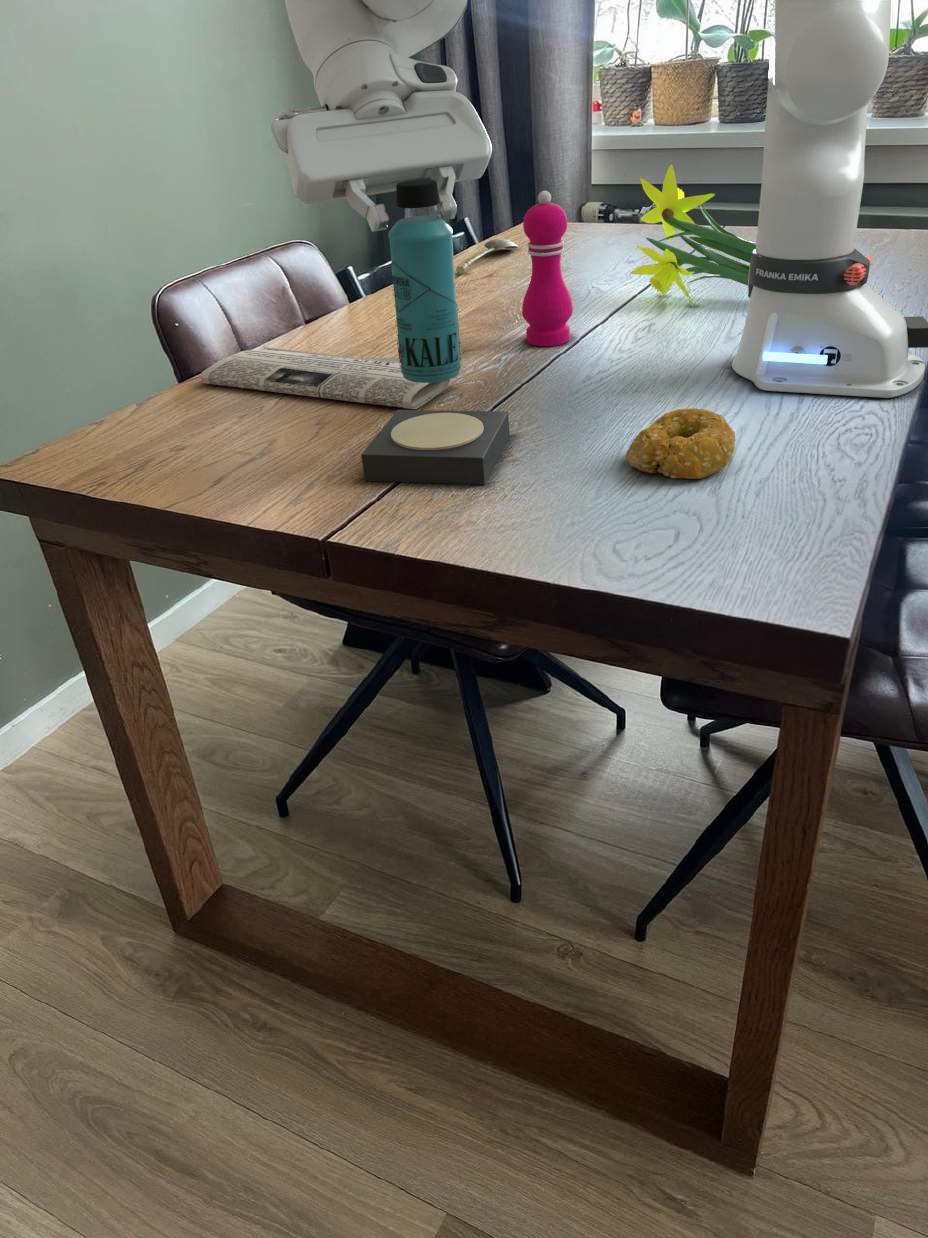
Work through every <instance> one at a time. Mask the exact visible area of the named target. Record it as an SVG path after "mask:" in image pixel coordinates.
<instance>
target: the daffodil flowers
mask: <svg viewBox="0 0 928 1238" xmlns="http://www.w3.org/2000/svg"><path fill="white" fill-rule="evenodd" d="M676 177H677V176H676V174H675V169H674V165H673V164H671V163H670V165H669V166H668V168H667V171H666V173H665V176H664V180H663V182H662V191H661V190H659V189H658V188H657V187H655V186H654V185H653V184H652V183H650V182H649V181H647V180H646V179H645V178H642V177H639V180H640V183H641V187H642V190H643V191H644V193H645V194H646V196H647V197H648V198H649V200H651V202H652V203H653V204H654V205H655V206H656V207H653V208H651V210H649V211H647V212H646V213H645V214H644V215H642V217H640V221H642V222H644V223H647V224H657V223H661V222H662V227H663V231H664V234H665V236H666V237H664V238H662V239H660V240H656V239H653V238H650V237H645V240H647V241H648V242H649V243H651V244H652V245H653V246H655V247H656V248H657V249H659V250H660V251H662V252H663V254H661V253H659V252H658V251H656V250H654V249H652V248H650V247H644V246H639V245H636V247H637V249H639V250H640V251H641V252H642V253H644V254H645V255H646V256H647V257H649V258H650V259H651V260H653V261H654V262H655V263H654V264H644V265H641V266H638V267H636V268H635V269H633V270H632V271H630V272H629V274H630V275H640V276H641V275H642V276H652V277H650V278H649V279H648V283H649V285H651V288H653V289H654V291H656V292H659V293H660V296H661V297H663V296H664V295H665V294H666V293H667V292H668V291H669V290H670V289H671V288H672V287H673V285H674V284H676V285H677V286H678V288H679V289H680V290H681V291H682V293H683V294H685V296H686V298H688V301H689V304H690V305H691V306H692V307H694V304H693V301H692V299H691V296H690V295H689V292H688V289H687V288H686V285H685V283H684V282H683V280H682V278H681V276H683V277H690V276H691V277H695V275H698V274H703V273H705V274H709V275H703V276H700V277H697V278H694V279H693V280H690V281H688V282H687V284H690V283H693V282H696V281H699V280H703V279H711V278H715V279H716V278H719V279H726V280H731V281H734V282H736V283H739V284H743V285H745V286H747V287H748V276H749V267H750V262H751V256H752V252H753V250H755V249H756V242H754V241H751V240H747V239H743V238H742V237H739V236H737V235H736V234H734V233H733V232H731V231H729V230H727V229H726V228H724V227H722V226H721V225H720V224H719V223H718V222H716V221H715V220H714V219H713V217H711V215H710V214H709V212H708V211H707V210H706V208H705V207H704V206H703V204H704V203H705V202H707V201H709V200H711V199H712V198H713V197H715V196H716V193H706V194H700V195H692V196H687V197H686V196H685V191H683V189H682V188H681V189H680V187H678V183H677V178H676ZM697 207H698V208H699V209H700V212H701V214H702V215H703V217H704V218H705V220H706V222H707V224H709V226H710V227H707V226H703V225H701V224H697V223H695V221H694V220H693V219H692V218H691V217H690V216H689V215H688V214H687V212H689V211H692V210H693V209H695V208H697ZM676 229H677V230H679V231H682V232H679V233H676ZM675 233H676V234H675ZM690 235H691V236H690ZM687 236H689V237H687ZM678 237H679V238H681V240H682V241H684V242H685V243H686V244H687V245H688V246H690V247H691V248H692V249H693V250H695V251H696V252H698V253H699V254H701V255H702V256H698V255H695V254H692V253H690V252H688V251H685V250H682V249H680V248H677V247H675V246H672V245H669V244H667V243H664V241H666V240H667V242H670V241H671V240H672V239H673V238H678ZM710 248H711V249H713V250H716V251H719V252H722V253H724V254H726V255H728V256H731V257H733V258H736V259H738V260H741V261H744V262H746V263H748V264H746V263H743V262H741V261H738V260H736V259H732V258H730V257H728V256H724V255H723V254H720V253H719V252H718V253H717V252H716V251H713V250H711V249H710ZM683 265H690V267H687V268H684V267H682V266H683Z"/></svg>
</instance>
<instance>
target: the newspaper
mask: <svg viewBox="0 0 928 1238" xmlns="http://www.w3.org/2000/svg"><path fill="white" fill-rule="evenodd" d="M399 363H400V359H399V357H353V356H345V355H336V354H335V355H334V354H326V353H317V352H310V351H300V350H292V349H284V348H275V347H267V346H264V347H263V348H262V349H261V348H260V349H246V350H241V351H239V352H237V353H234V354H232V355H229V356H227V357H224V358H223V359H220V360H217V362H215V363H213V364H212V365H210V366H208V367H207V368H206V369H205V370H203V371H201V374H200V380H201V383H202V384H208V385H216V386H224V387H232V388H240V389H248V390H255V391H256V390H257V391H264V392H265V391H266V392H274V393H280V394H281V393H282V394H289V395H296V396H306V397H311V398H312V397H313V398H320V399H321V398H322V399H329V400H337V401H343V402H344V401H345V402H353V403H361V404H370V405H377V406H378V405H379V406H385V407H395V408H401V409H408V410H418V409H419V408H421V407H422V406H424V405H425V404H427V403H428V402H430V401H432V400H433V399H434V398H435V397H437V396H438V395H440V394H441V393H442V392H443V391H445V390H446V389H448V386H449V384H450V381H451V379H449V380H445V381H441V382H433V383H418V382H412V381H408V380H406V379H405V378H404V377H403V374H402V372H401V371H400V370H401V363H400V366H399Z"/></svg>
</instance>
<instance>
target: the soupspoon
mask: <svg viewBox="0 0 928 1238" xmlns="http://www.w3.org/2000/svg"><path fill="white" fill-rule="evenodd" d="M483 247H485V248H486V249H484V250H483V251H481V252H480V253H478V254H477V255H475V256H474V257H472V258H471V259H470V260H468V261H465V262H464V263H463V264H461V265H457V266H456V268H455V271H456V272H457V274H459V275H460V276H461V275H462V276H463V275H464V274H465V271H466V269H467V268H468V267H469V266H470V265H471V264H472V263H474V262H476V261H477V260H478V259H480V258H482V257H483V256H485V255H487V254H490V253H491V252H494V251H497V250H501V249H517V248H519V246H518V244H516V243H515V242H513V241H511V240H509V239H505V238H494V239H490V240H489V241H486V242H485V243H484V244H483Z"/></svg>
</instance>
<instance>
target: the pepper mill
mask: <svg viewBox="0 0 928 1238" xmlns="http://www.w3.org/2000/svg"><path fill="white" fill-rule="evenodd" d="M537 201H538V203H537V204H535V205H532V206H531V207H530V208H529V209H528V210H527V211H526V212H525V215H524V217H523V221H522V222H523V223H522V229H523V233H524V235H525V236H526V237H527V238H528V240H529V242H527V247H528V248H527V249H528V250H527V254H528V255H529V256H530V258H531V259H530V260H531V276H530V281H529V284H528V286H527V289H526V292H525V295H524V297H523V301H522V308H521V314H522V317H523V320H525V322H526V323H527V324H528V325H529V326H528V327H527V328H526V329H525V331H526V333H525V335H526V343H527V344H529V345H530V346H535V347H556V346H560V345H563V344H566V343H568V342H569V341H570V339H571V327H570V325H569V324H567V322H568V321H569V320H570V319H571V317H572V315H573V312H574V308H573V307H574V306H573V299H572V296H571V294H570V291H569V289H568V287H567V285H566V282H565V280H564V277H563V274H562V273H563V272H562V266H561V265H562V263H561V258H562V253H564V252H565V248H564V244H565V241H564V240H563V239H562V238H563V236H564V234H565V233H567V229H568V217H567V214H566V211H565V210H564V209H563V208H562V207H561V206H560V205H558V204H556V203H553V202H551V201H552V195H551V193H550V191H547V190H542V191H540V192H539V194H538V195H537Z"/></svg>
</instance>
